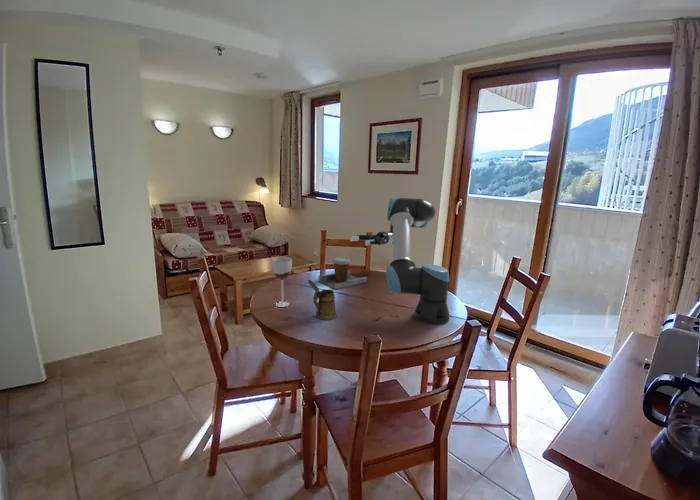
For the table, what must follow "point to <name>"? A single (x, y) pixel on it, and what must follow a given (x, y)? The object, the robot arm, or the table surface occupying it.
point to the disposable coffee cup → (341, 268)
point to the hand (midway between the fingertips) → (357, 241)
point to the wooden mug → (324, 303)
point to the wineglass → (282, 273)
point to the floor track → (333, 283)
